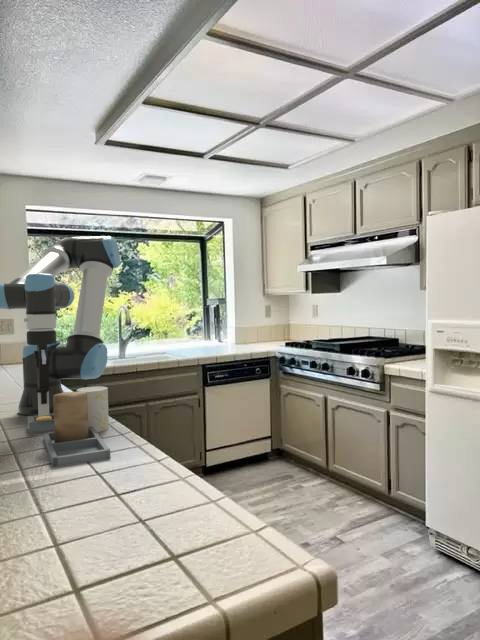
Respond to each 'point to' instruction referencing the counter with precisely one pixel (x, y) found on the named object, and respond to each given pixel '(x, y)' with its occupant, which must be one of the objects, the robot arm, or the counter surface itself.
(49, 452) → the grey divided tray
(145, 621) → the counter surface
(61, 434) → the ball
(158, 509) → the counter surface
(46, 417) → the button
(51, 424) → the grey square holder
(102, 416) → the white stubby cylinder
